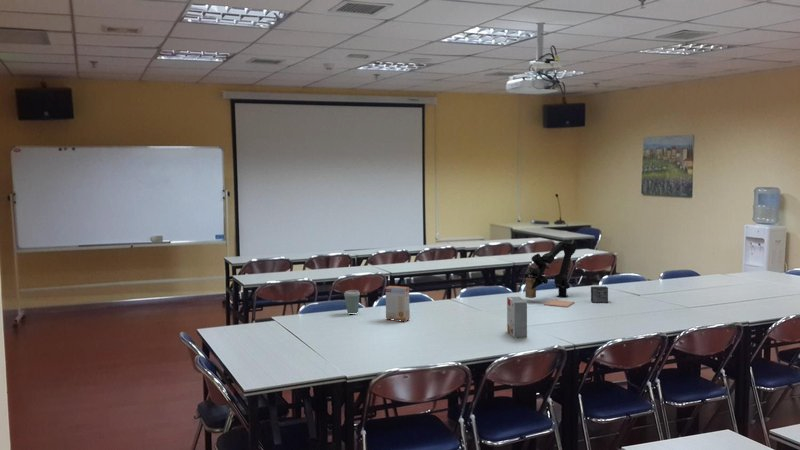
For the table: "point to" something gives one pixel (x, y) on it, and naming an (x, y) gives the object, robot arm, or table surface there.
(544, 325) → the table surface
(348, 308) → the disposable coffee cup
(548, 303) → the terracotta mat
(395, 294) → the cracker box
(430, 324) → the table surface
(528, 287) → the walnut block
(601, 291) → the small box
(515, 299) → the hard drive box
